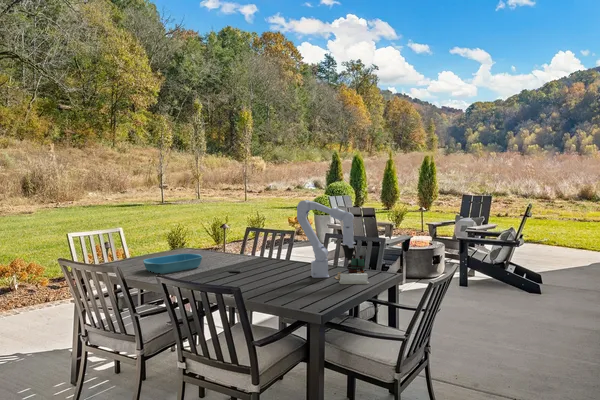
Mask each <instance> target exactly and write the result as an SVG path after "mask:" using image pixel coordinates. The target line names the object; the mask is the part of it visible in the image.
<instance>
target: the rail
mask: <svg viewBox="0 0 600 400" xmlns="http://www.w3.org/2000/svg"><path fill="white" fill-rule="evenodd" d="M368 275H369V274H368V273H365V272H364V273H361V274H356V273H353V274H351V273H341V274H340V279H339V281H340V282H369V281H368V278H369V277H368Z"/></svg>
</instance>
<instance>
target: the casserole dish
mask: <svg viewBox="0 0 600 400" xmlns="http://www.w3.org/2000/svg"><path fill="white" fill-rule="evenodd" d="M202 259H203V255H201V254H199V253H188V252H187V253H176V254H169V255H163V256H154V257H149V258H144V259H142V261H143V265H144V268H145V269H146V270H147V271H148V272H150V271H151V272H150V273H153V272H154V274H158V273H160V275H163V274H171V273H177V272H183V271H188V270H192V269H196V268H198V267H199V266H200V265H201V263H202Z"/></svg>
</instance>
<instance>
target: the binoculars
mask: <svg viewBox="0 0 600 400" xmlns="http://www.w3.org/2000/svg"><path fill="white" fill-rule="evenodd" d="M363 256H364V255H363V254H361V255H359V256H358V257H357V255H356V254H354V253H353V257H352V260H350V264H349V265H347V266H346V269H347V270H348V274H357V272H361V274H364V273H365V268H366V264H365V259H364V257H363Z"/></svg>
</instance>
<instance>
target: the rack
mask: <svg viewBox="0 0 600 400" xmlns="http://www.w3.org/2000/svg"><path fill="white" fill-rule="evenodd" d="M340 274H342V272H340V271H339V272H337V276H334V278H335V280H340ZM357 274H362V273H361V272H357Z"/></svg>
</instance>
